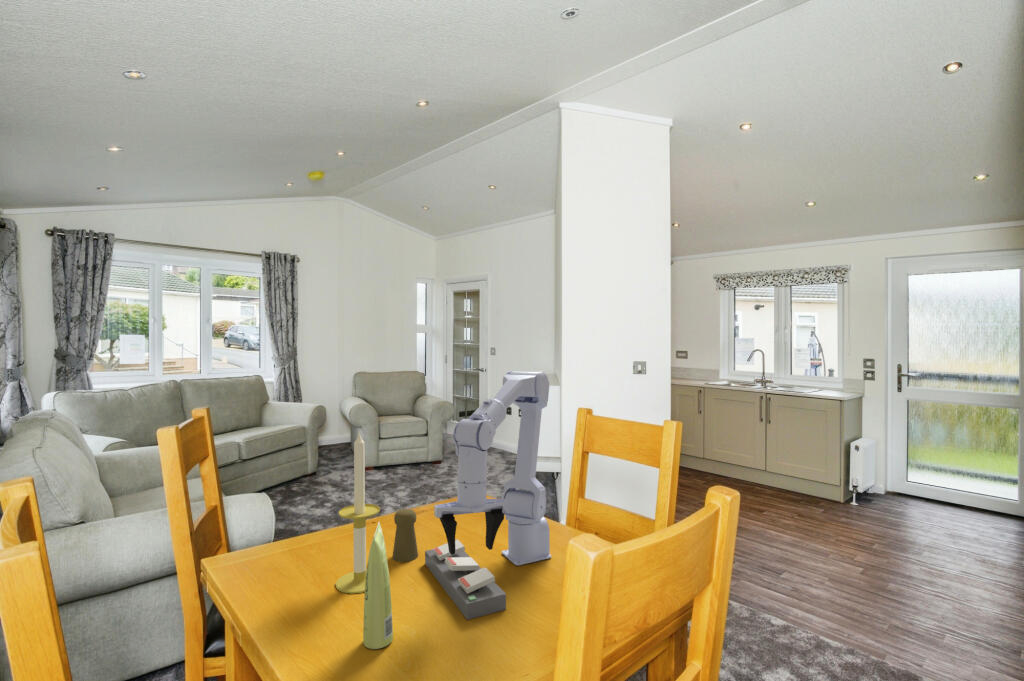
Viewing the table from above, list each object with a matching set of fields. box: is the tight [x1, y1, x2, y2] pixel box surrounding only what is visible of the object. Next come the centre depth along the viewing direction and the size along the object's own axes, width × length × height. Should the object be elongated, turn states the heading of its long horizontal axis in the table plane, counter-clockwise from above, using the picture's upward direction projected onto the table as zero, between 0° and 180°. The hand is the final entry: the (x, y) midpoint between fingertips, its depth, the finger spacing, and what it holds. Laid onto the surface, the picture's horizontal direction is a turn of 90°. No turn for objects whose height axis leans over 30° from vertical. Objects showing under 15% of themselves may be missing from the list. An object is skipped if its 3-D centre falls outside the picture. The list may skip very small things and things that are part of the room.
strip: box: [424, 548, 507, 621], centre depth 107 cm, size 8×26×4 cm, turn 27°
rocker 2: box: [445, 556, 480, 571], centre depth 107 cm, size 6×4×1 cm
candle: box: [334, 431, 381, 595], centre depth 108 cm, size 10×10×32 cm
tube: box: [362, 521, 394, 650], centre depth 87 cm, size 6×5×20 cm
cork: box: [392, 508, 419, 563], centre depth 121 cm, size 6×6×11 cm
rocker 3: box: [458, 567, 496, 594], centre depth 100 cm, size 6×4×1 cm
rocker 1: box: [432, 538, 466, 561], centre depth 114 cm, size 6×4×1 cm
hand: (470, 550), depth 99 cm, fingers open, 7 cm apart
